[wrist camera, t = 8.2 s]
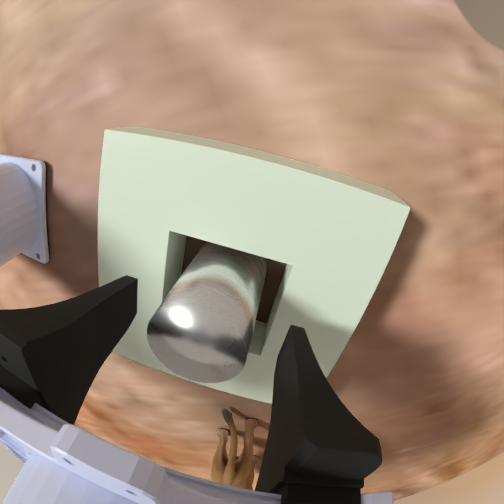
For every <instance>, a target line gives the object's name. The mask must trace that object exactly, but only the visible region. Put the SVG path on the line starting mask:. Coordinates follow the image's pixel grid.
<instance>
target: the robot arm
mask: <svg viewBox="0 0 504 504" xmlns="http://www.w3.org/2000/svg"><path fill="white" fill-rule="evenodd" d="M35 166H36V168H35ZM45 177H46V166H45V163H44V162H43V161H41V160H36V159H30V158H25V157H19V156H13V155H7V154H1V153H0V267H1V266H2V265H4V264H5V263H7V262H8V261H9V260H11V259H12V258H14V257H15V256H17V255H18V254H20V253H22V254H24V255H26V256H28V257H30V258H33V259H35V260H37V261H39V262H41V263H43V264H45V263H47V262H48V261H49V252H48V241H47V226H46V201H45ZM137 290H138V279H137V278H134V277H131V276H128V275H126V276H123V277H121V278H118V279H116V280H114V281H112V282H110V283H107V284H105V285H103V286H101V287H99V288H96V289H94V290H92V291H89V292H87V293H84V294H82V295H79V296H77V297H74V298H71V299H68V300H65V301H62V302H58V303H55V304H50V305H45V306H41V307H35V308H27V309H15V310H0V443H1V444H2V445H3V446H5V447H6V448H7V449H8V450H9V451H10V452H12V453H13V454H14V455H15V456H17V457H18V458H19V459H20V460H21V461H23V462H24V463H25V464H24V467H23V468H22V469H21V471H20V473H19V475H18V476H17V478H16V479H15V481H14V483H13V485H12V487H11V488H10V490H9V492H8V493H7V495H6V497H5V499H4V500H3V502H2V504H393V493H392V492H377V493H365V494H362V495H361V492H360V488H363V486H364V478H365V477H367V476H368V475H369V474H371V473H372V472H373V471H375V470H376V469H377V468H378V467H379V466H380V465H381V463H382V454H381V447H380V442H379V439H378V438H377V437H376V436H374V435H373V434H372V433H371V432H370V431H369V430H367V429H366V428H365V427H364V426H363V425H362V424H361V423H360V422H359V421H358V420H357V419H356V418H355V417H354V416H353V415H352V414H351V413H350V412H349V410H348V409H347V408H346V407H345V405H344V404H343V403H342V402H341V401H340V399H339V398H338V396H337V395H336V394H335V392H334V391H333V389H332V388H331V386H330V384H329V383H328V381H327V379H326V377H325V375H324V374H323V372H322V370H321V368H320V366H319V363H318V361H317V359H316V357H315V355H314V352H313V350H312V347H311V345H310V342H309V340H308V337H307V334H306V331H305V329H304V328H302V327H298V326H294V325H290V328H289V330H288V332H287V335H286V337H285V340H284V342H283V344H282V347H281V349H280V352H279V354H278V356H277V362H276V367H275V372H274V382H273V398H272V413H271V422H270V428H269V433H268V438H267V443H266V448H265V453H264V457H263V461H262V465H261V470H260V474H259V477H258V481H257V485H256V488H255V491H254V490H248V489H243V488H238V487H234V486H229V485H225V484H221V483H217V482H213V481H209V480H205V479H201V478H198V477H194V476H191V475H188V474H184V473H181V472H178V471H175V470H172V469H169V468H166V467H163V466H160V465H158V464H156V463H154V462H152V461H150V460H148V459H146V458H144V457H142V456H140V455H137V454H135V453H132V452H130V451H128V450H125V449H123V448H121V447H119V446H116V445H114V444H112V443H110V442H108V441H106V440H104V439H102V438H100V437H97V436H96V435H94V434H92V433H90V432H88V431H86V430H84V429H82V428H80V427H77V426H75V425H74V423H75V421H76V418H77V415H78V413H79V410H80V408H81V406H82V403H83V401H84V399H85V396H86V394H87V392H88V390H89V388H90V386H91V384H92V382H93V380H94V378H95V376H96V375H97V373H98V371H99V369H100V367H101V366H102V364H103V363H104V361H105V360H106V358H107V357H108V356H109V354H110V353H111V352H112V350H113V349H114V348H115V346H116V345H117V344H118V342H119V341H120V340H121V338H122V337H123V336H124V334H125V333H126V331H127V330H128V329H129V327H130V325H131V323H132V322H133V320H134V318H135V316H136V314H137Z"/></svg>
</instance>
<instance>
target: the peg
mask: <svg viewBox="0 0 504 504" xmlns="http://www.w3.org/2000/svg"><path fill="white" fill-rule="evenodd" d="M266 273H267V263H266V259H265V257H261V256H257V255H254V254H250V253H247V252H243V251H240V250H236V249H233V248H229V247H226V246H222V245H218V244H215V243H211V242H208V241H207V242H206V243H205V244H204V245H203V246H202V248H201V249H200V251H199V252H198V253H197V255H196V256H195V257H194V259H193V260H192V261H191V263H190V264H189V266H188V267H187V268H186V270H185V271H184V272H183V274H182V275H181V277H180V278H179V279H178V281H177V282H176V284H175V285H174V286H173V288H172V289H171V291H170V292H169V293H168V295H167V296H166V298H165V299H164V300H163V302H162V303H161V305H160V306H159V308H158V309H157V310H156V312H155V313H154V315H153V316H152V318H151V319H150V321H149V323H148V326H147V339H148V343H149V346H150V348H151V350H152V351H153V353H154V355H155V356H156V357H157V358H158V360H159V361H160V362H161V363H162V364H163V365H165V366H166V367H167V368H168V369H170V370H171V371H172V372H174V373H176V374H178V375H180V376H182V377H184V378H186V379H189V380H192V381H196V382H202V383H219V382H224V381H227V380H230V379H232V378H234V377H235V376H237V375H238V374H239V373H240V372H241V371H242V369H243V368H244V365H245V363H246V359H247V355H248V350H249V346H250V342H251V338H252V333H253V329H254V325H255V321H256V316H257V312H258V308H259V303H260V299H261V295H262V290H263V286H264V281H265V277H266Z"/></svg>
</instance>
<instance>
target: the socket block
mask: <svg viewBox="0 0 504 504" xmlns="http://www.w3.org/2000/svg"><path fill="white" fill-rule="evenodd" d="M410 208H411V207H409V206H408V205H407V204H406V203H405V202H404V201H402V200H401V199H400V198H399V197H398V196H396V195H395V194H394V193H393V192H391V191H389V190H386V189H383V188H381V187H378V186H375V185H372V184H370V183H367V182H364V181H361V180H358V179H355V178H352V177H349V176H346V175H343V174H340V173H337V172H334V171H331V170H328V169H324V168H321V167H318V166H315V165H311V164H308V163H305V162H301V161H298V160H294V159H291V158H287V157H283V156H280V155H276V154H272V153H268V152H264V151H261V150H257V149H252V148H248V147H244V146H240V145H236V144H231V143H227V142H222V141H218V140H213V139H208V138H203V137H198V136H193V135H188V134H183V133H177V132H172V131H166V130H160V129H153V128H147V127H140V126H130V127H120V128H112V129H105V133H104V141H103V150H102V160H101V170H100V184H99V201H98V278H99V287H101V286H103V285H105V284H107V283H110V282H112V281H114V280H116V279H118V278H121V277H123V276H126V275H128V276H131V277H134V278H137V279H138V290H137V314H136V316H135V318H134V320H133V322H132V323H131V325H130V327H129V329H128V330H127V331H126V333H125V334H124V336H123V337H122V338H121V340H120V341H119V342H118V344H117V345H116V346H115V348H114V349H113V350H112V352H114V353H117V354H119V355H121V356H124V357H126V358H129V359H131V360H133V361H136V362H138V363H141V364H143V365H146V366H149V367H151V368H154V369H157V370H159V371H162V372H165V373H167V374H170V375H173V376H176V377H179V378H182V379H185V380H188V381H191V382H194V383H197V384H200V385H203V386H207V387H210V388H213V389H217V390H220V391H223V392H227V393H231V394H234V395H238V396H242V397H246V398H249V399H253V400H258V401H262V402H266V403H270V404H272V398H273V382H274V372H275V367H276V362H277V356H278V354H279V352H280V349H281V347H282V344H283V342H284V340H285V337H286V335H287V332H288V330H289V328H290V325H294V326H298V327H302V328H304V329H305V331H306V334H307V337H308V340H309V342H310V345H311V347H312V350H313V352H314V355H315V357H316V359H317V361H318V363H319V366H320V368H321V370H322V372H323V374H324V375H325V377H326V378H327V377H328V375H329V374H330V372H331V370H332V369H333V367H334V365H335V364H336V362H337V360H338V359H339V357H340V355H341V353H342V352H343V350H344V348H345V346H346V345H347V343H348V341H349V339H350V338H351V336H352V334H353V332H354V330H355V328H356V327H357V325H358V323H359V321H360V319H361V317H362V315H363V313H364V311H365V309H366V308H367V306H368V304H369V302H370V300H371V298H372V296H373V294H374V292H375V289H376V287H377V285H378V283H379V281H380V279H381V277H382V275H383V273H384V270H385V268H386V266H387V264H388V262H389V259H390V257H391V255H392V253H393V250H394V248H395V246H396V243H397V241H398V239H399V236H400V234H401V231H402V229H403V226H404V224H405V221H406V219H407V216H408V214H409V211H410ZM187 236H190V237H194V238H197V239H201V240H204V241H208V242H211V243H215V244H218V245H222V246H226V247H229V248H233V249H236V250H240V251H243V252H247V253H250V254H254V255H257V256H261V257H265V258H268V259H272V260H275V261H279V262H282V263H286V264H287V265H286V268H285V271H284V274H283V277H282V280H281V283H280V286H279V289H278V292H277V295H276V298H275V301H274V303H273V306H272V309H271V312H270V315H269V318H268V321H267V323H265V322H261V321H258V320H256V321H255V325H254V329H253V333H252V338H251V342H250V346H249V350H248V355H247V359H246V363H245V365H244V368H243V369H242V371H241V372H240V373H239V374H238V375H237V376H235V377H234V378H232V379H230V380H227V381H224V382H219V383H202V382H196V381H192V380H189V379H186V378H184V377H182V376H180V375H178V374H176V373H174V372H172V371H171V370H170V369H168V368H167V367H166V366H165V365H163V364H162V363H161V362H160V361H159V360H158V358H157V357H156V356H155V355H154V353H153V351H152V350H151V348H150V346H149V343H148V339H147V326H148V323H149V321H150V319H151V318H152V316H153V315H154V313H155V312H156V310H157V309H158V308H159V306H160V305H161V303H162V302H163V300H164V299H165V298H166V296H167V295H168V293H169V292H170V291H171V289H172V288H173V286H174V285H175V284H176V282H177V281H178V279H179V278H180V277H181V274H182V266H183V259H184V252H185V245H186V239H187Z"/></svg>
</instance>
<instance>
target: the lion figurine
mask: <svg viewBox="0 0 504 504" xmlns="http://www.w3.org/2000/svg"><path fill="white" fill-rule="evenodd" d="M222 414H223V416H224V419H225V421H226V422H227V424H228V426H229V428H230V432H231V447H230V454H229V455H227V452H226V443H227V441H228V438H227V436H228V431H227V430H225V429H218V430H217V431H216V434H217V435H218V436H219V444H218V447H217V450H216V453H215V456H214V459H213V463H212V471H211V478H212V481H213V482H217V483H221V484H225V485H229V486H234V487H238V488H243V489H248V490H253V489H252V484H253V480H254V463H257V462H258V461H259V460H260V458H259V457H257V456H253V438H254V434H253V431H254V428H256V427H257V426H258V421H257V420H256V419H247V420H246V421H245V432H244V448H243V451H242V453H241V455H240V457H239V458H238V460H237V461H236V454H237V432H236V427H235V425H234V422H233V418H232V413H230V412H229V411H228V410H227V409H223V410H222Z"/></svg>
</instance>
